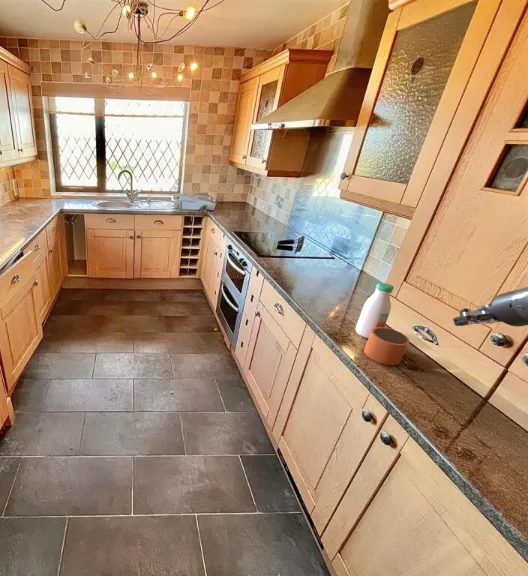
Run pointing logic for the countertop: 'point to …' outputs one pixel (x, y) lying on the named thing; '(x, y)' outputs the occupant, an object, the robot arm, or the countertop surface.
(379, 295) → the milk bottle
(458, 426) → the countertop surface
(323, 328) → the countertop surface
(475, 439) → the countertop surface
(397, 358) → the terracotta pot
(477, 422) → the countertop surface
